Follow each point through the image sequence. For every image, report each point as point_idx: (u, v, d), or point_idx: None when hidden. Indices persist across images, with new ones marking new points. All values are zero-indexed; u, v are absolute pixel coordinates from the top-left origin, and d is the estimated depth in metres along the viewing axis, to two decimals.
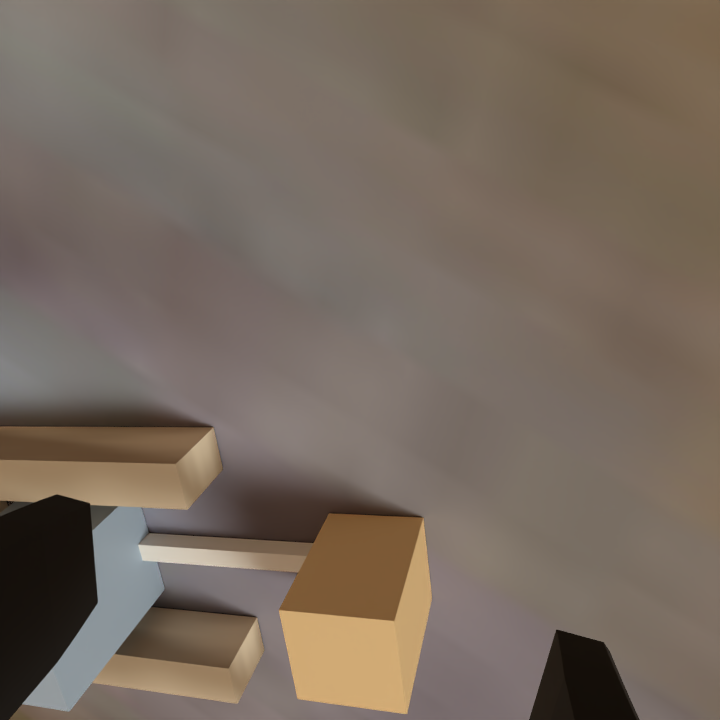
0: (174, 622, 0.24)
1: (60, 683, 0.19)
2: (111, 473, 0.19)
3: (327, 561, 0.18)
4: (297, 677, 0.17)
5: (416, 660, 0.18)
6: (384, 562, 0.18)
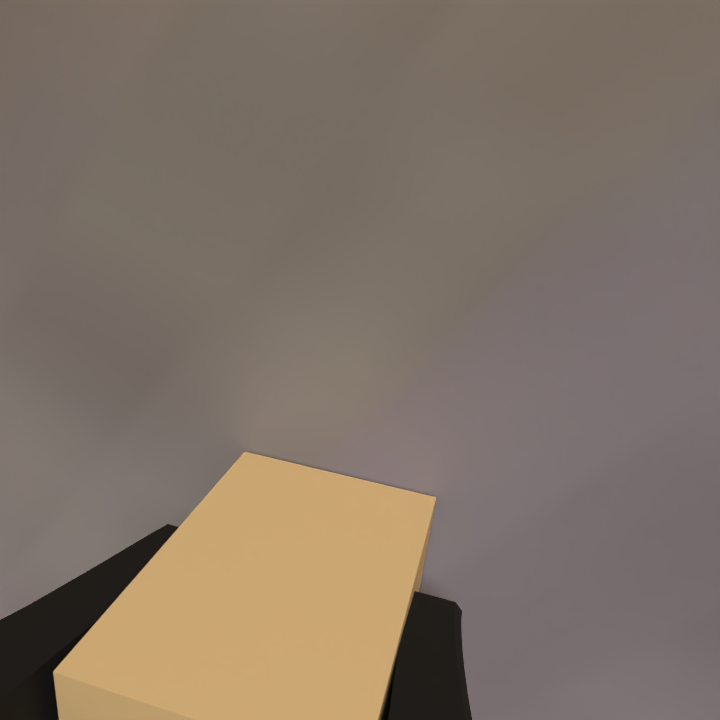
0: None
1: None
2: None
3: None
4: None
5: (381, 632, 0.07)
6: None
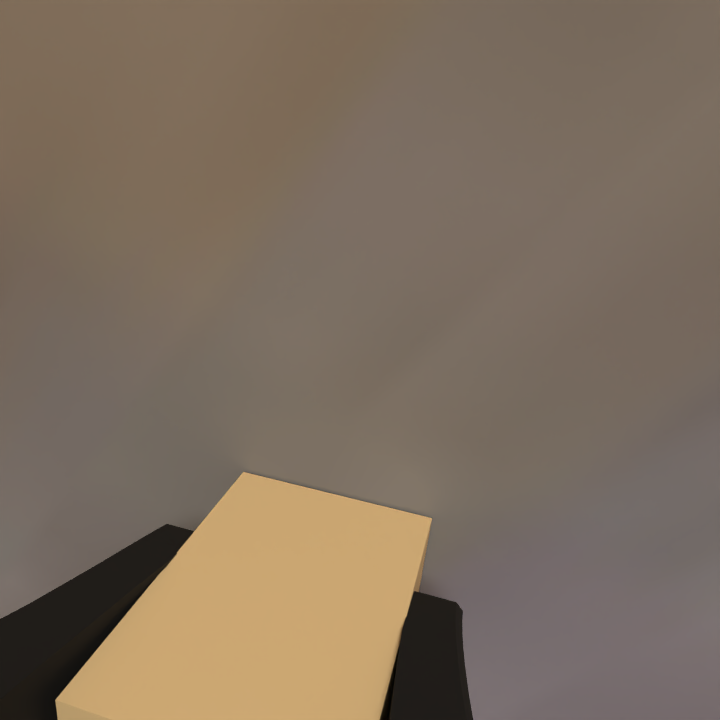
0: None
1: None
2: None
3: None
4: None
5: (376, 658, 0.07)
6: None
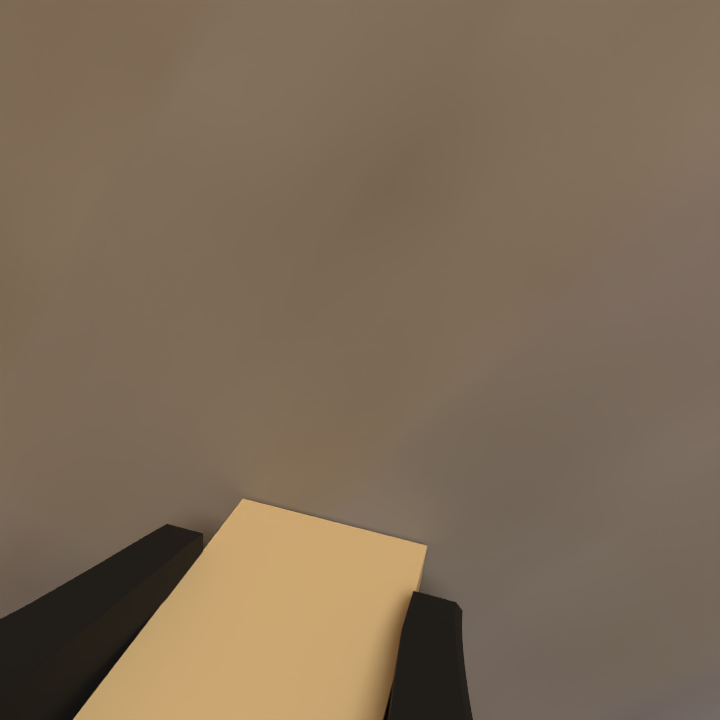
0: None
1: None
2: None
3: None
4: None
5: (371, 690, 0.07)
6: None
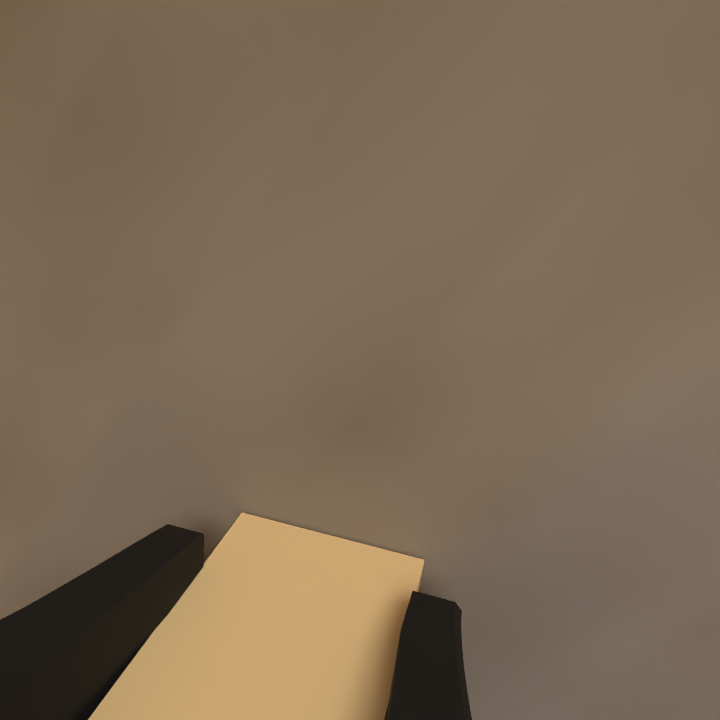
0: None
1: None
2: None
3: None
4: None
5: (369, 708, 0.07)
6: None
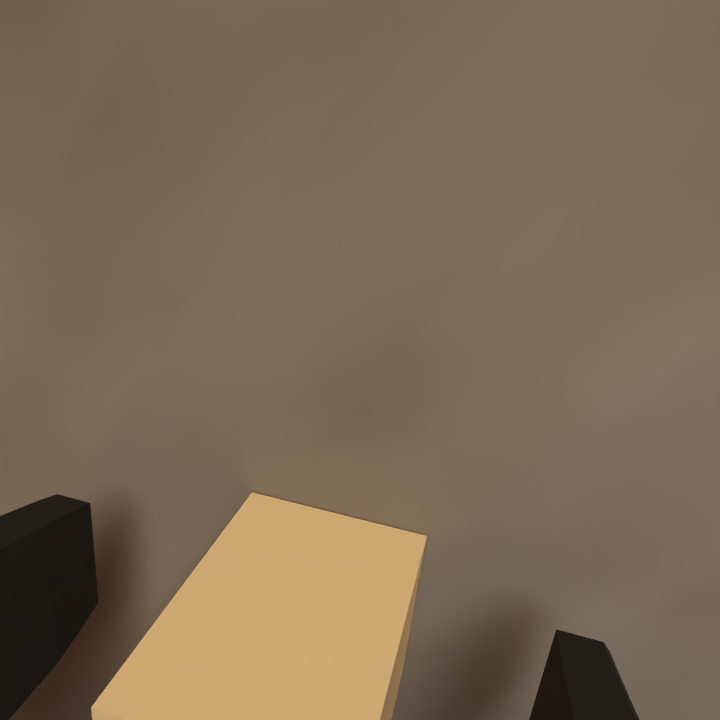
0: None
1: None
2: None
3: None
4: None
5: (376, 668, 0.08)
6: None
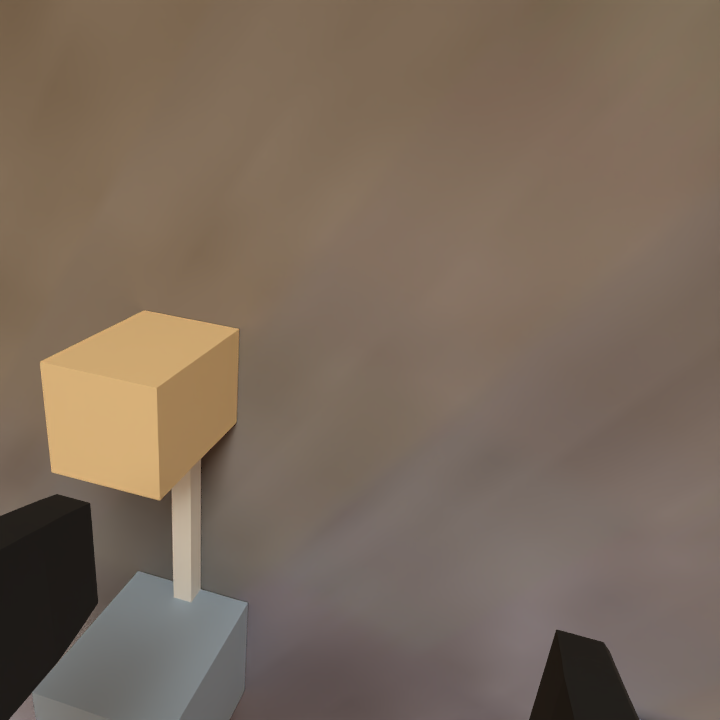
0: None
1: None
2: None
3: None
4: (131, 488, 0.16)
5: (184, 361, 0.16)
6: None
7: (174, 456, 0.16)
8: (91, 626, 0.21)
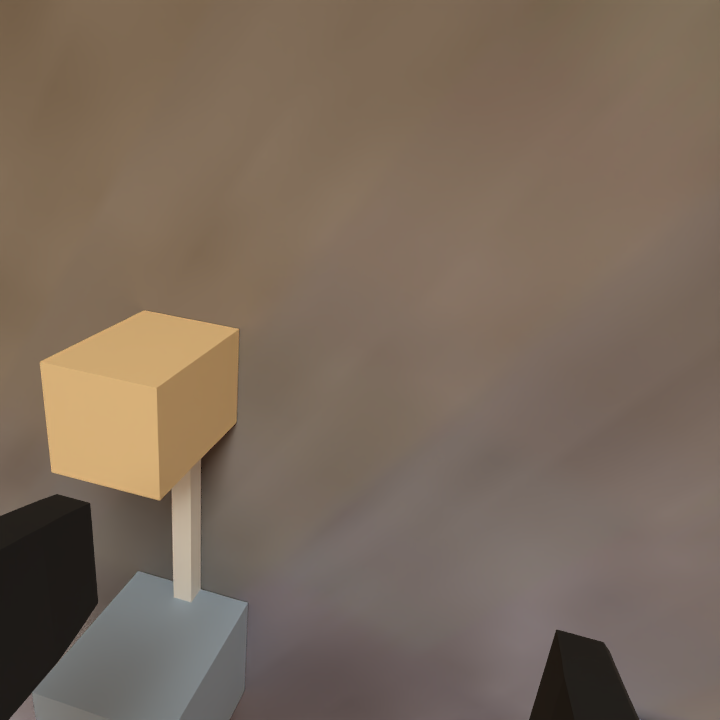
0: None
1: None
2: None
3: None
4: (131, 488, 0.16)
5: (184, 361, 0.16)
6: None
7: (174, 456, 0.16)
8: (91, 626, 0.21)
